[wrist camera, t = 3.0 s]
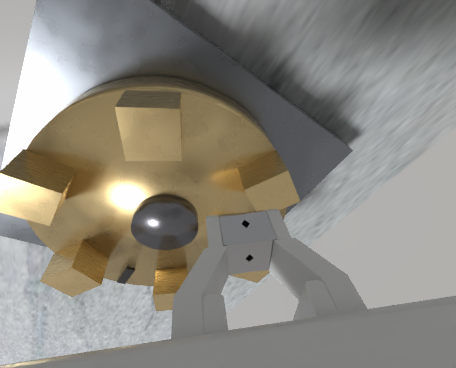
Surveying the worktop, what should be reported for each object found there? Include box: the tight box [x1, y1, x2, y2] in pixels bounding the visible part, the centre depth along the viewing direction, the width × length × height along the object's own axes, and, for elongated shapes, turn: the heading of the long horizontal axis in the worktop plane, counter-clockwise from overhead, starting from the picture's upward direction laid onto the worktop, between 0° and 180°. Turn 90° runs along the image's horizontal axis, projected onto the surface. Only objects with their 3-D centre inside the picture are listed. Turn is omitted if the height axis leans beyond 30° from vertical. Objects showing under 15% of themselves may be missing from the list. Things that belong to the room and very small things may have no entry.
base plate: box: [0, 0, 353, 247], centre depth 23 cm, size 24×24×2 cm
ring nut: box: [0, 76, 300, 311], centre depth 20 cm, size 20×20×6 cm
